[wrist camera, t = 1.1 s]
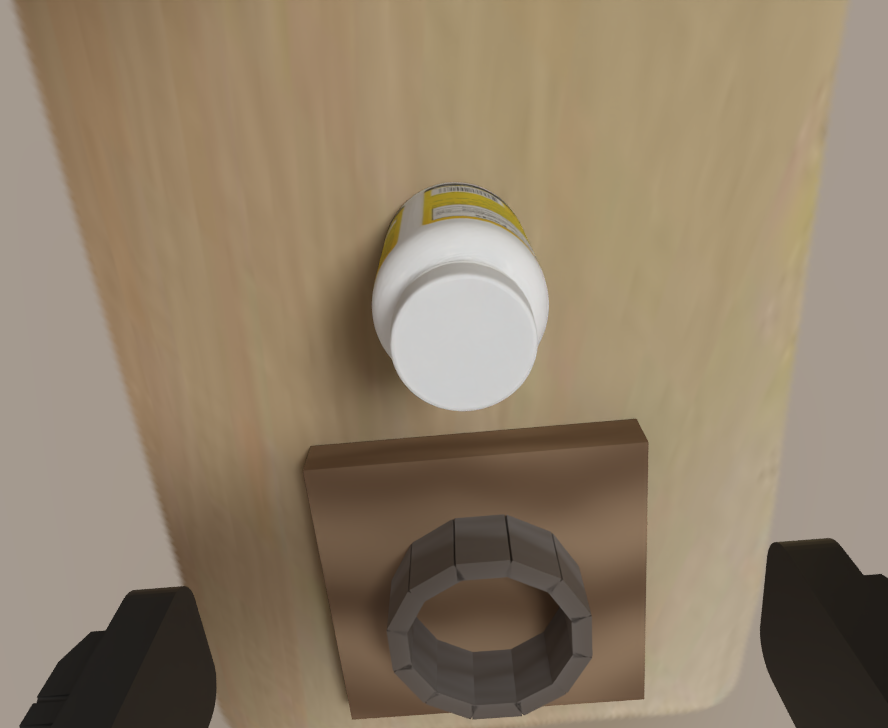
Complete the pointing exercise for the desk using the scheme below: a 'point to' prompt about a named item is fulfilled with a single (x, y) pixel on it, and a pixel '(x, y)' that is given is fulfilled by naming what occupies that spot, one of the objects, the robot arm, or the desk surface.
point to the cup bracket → (485, 568)
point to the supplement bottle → (459, 297)
